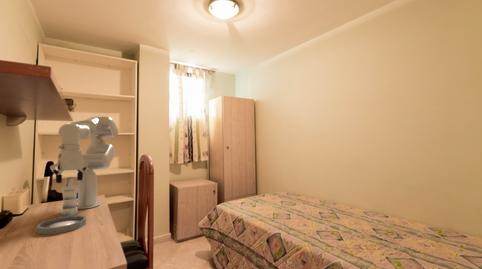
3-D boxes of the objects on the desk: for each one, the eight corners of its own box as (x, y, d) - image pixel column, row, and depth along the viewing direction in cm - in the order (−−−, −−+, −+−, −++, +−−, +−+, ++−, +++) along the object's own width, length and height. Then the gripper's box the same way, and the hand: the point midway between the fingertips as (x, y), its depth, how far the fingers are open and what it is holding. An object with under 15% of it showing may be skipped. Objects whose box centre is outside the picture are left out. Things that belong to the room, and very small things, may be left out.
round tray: (28, 231, 98) (28, 225, 98) (71, 219, 113) (71, 214, 114) (51, 236, 91) (51, 230, 91) (94, 223, 106) (94, 217, 107)
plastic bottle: (78, 217, 116) (79, 177, 117) (61, 220, 112) (62, 179, 113) (76, 214, 121) (77, 176, 122) (60, 217, 117) (61, 177, 118)
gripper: (55, 147, 109) (54, 184, 108) (92, 147, 124) (91, 179, 123) (46, 148, 112) (45, 183, 111) (83, 148, 128) (82, 179, 126)
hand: (69, 181), depth 117 cm, fingers open, 9 cm apart
